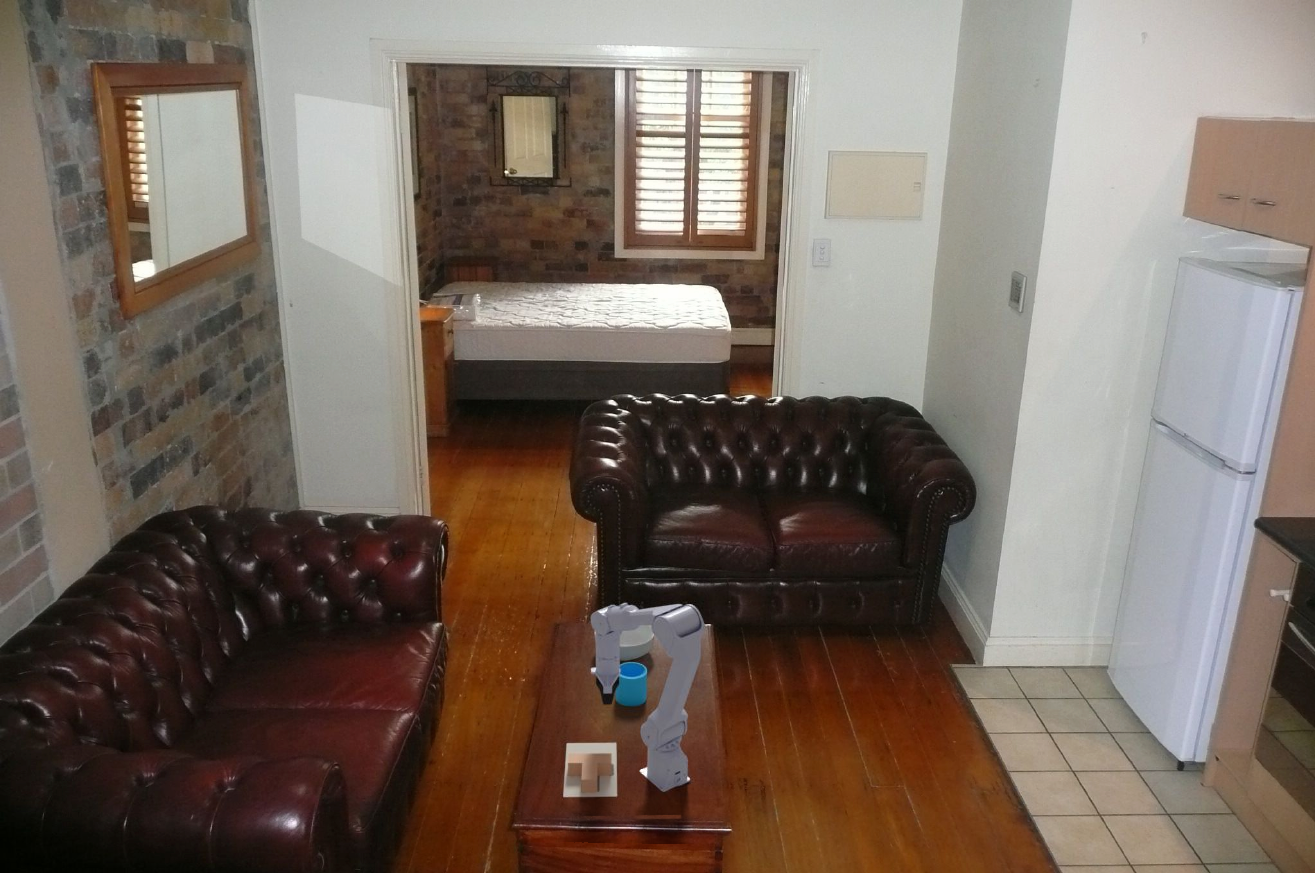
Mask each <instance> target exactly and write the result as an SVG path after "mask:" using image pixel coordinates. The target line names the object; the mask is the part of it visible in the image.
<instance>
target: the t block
mask: <svg viewBox="0 0 1315 873" xmlns="http://www.w3.org/2000/svg"><path fill="white" fill-rule="evenodd" d="M568 776H582V793H597V776H612V753H596V754H569V755H568Z"/></svg>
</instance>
